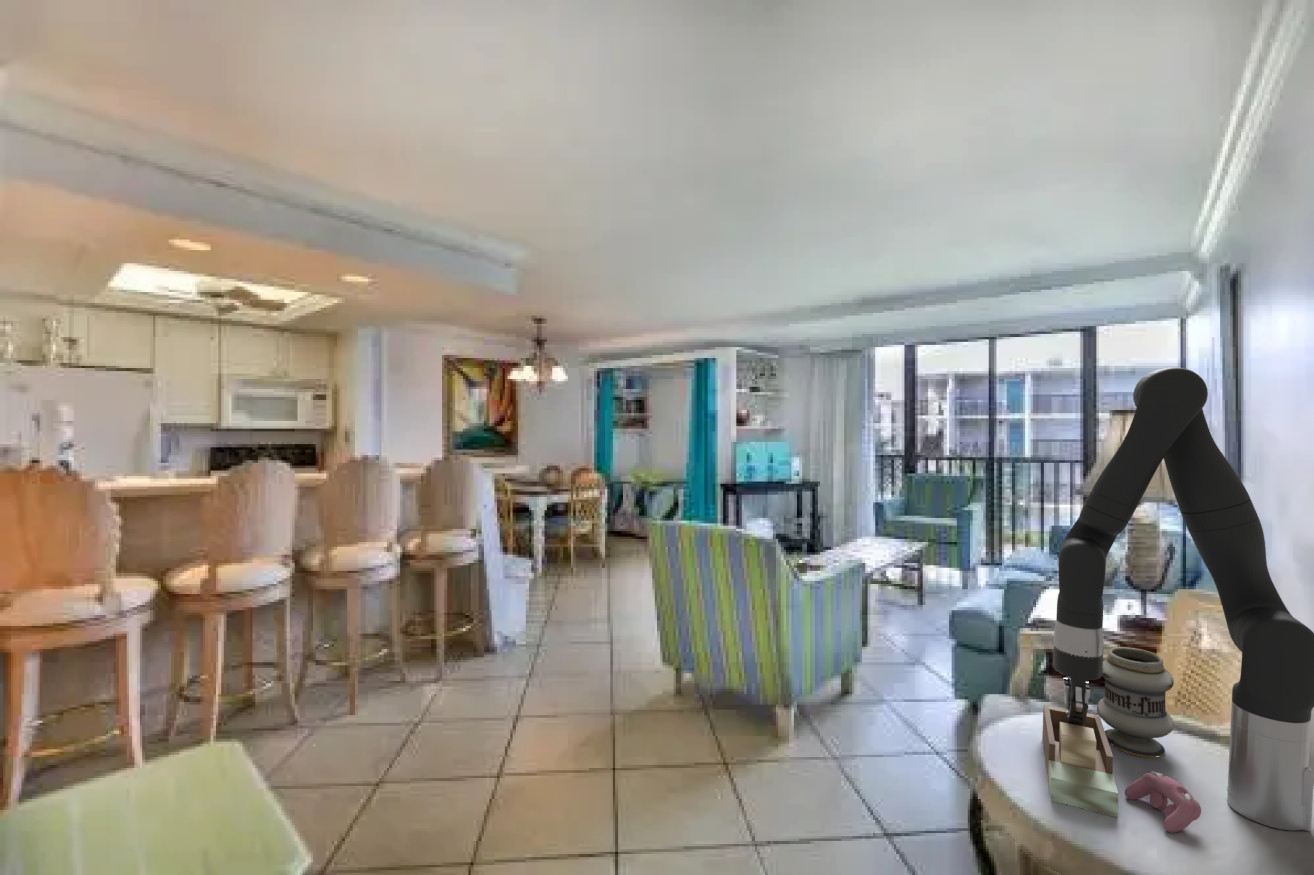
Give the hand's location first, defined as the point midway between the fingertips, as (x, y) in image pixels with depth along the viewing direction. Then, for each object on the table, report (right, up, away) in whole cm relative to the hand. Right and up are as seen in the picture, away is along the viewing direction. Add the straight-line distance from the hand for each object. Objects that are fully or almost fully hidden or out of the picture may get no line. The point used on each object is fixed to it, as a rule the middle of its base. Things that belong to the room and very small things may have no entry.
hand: (1074, 739), depth 116 cm
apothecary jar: (+17, -5, +8) cm, 19 cm away
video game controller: (+5, -6, -13) cm, 16 cm away
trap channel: (-1, -5, -2) cm, 6 cm away
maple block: (-3, -1, -4) cm, 5 cm away
